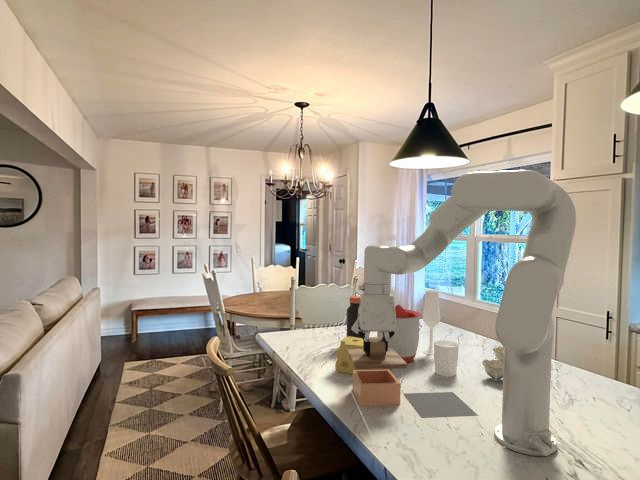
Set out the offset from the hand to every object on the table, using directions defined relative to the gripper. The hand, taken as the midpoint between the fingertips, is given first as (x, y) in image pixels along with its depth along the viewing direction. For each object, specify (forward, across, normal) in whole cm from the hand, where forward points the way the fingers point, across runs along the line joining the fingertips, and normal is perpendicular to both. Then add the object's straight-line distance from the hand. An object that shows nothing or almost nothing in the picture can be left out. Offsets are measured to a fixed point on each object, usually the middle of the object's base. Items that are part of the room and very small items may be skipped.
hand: (375, 353), depth 115 cm
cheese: (+13, -1, +23) cm, 26 cm away
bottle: (+13, +4, +50) cm, 52 cm away
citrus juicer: (+13, +16, +34) cm, 40 cm away
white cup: (+13, +28, +17) cm, 35 cm away
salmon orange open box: (+13, 0, 0) cm, 13 cm away
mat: (+12, +16, -6) cm, 21 cm away
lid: (+2, 0, 0) cm, 2 cm away
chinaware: (+13, +51, +15) cm, 54 cm away
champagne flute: (+13, +32, +40) cm, 53 cm away
